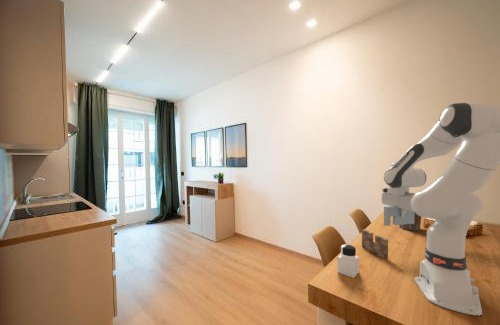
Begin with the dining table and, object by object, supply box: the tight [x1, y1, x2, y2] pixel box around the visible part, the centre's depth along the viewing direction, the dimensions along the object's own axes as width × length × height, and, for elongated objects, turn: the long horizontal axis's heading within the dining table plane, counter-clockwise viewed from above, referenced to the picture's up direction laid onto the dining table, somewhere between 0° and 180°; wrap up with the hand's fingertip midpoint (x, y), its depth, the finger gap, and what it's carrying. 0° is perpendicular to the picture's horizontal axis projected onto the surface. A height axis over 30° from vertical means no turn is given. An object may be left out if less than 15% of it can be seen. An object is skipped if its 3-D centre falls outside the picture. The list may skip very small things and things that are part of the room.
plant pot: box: [398, 212, 422, 232], centre depth 154 cm, size 16×16×16 cm
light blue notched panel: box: [383, 205, 414, 227], centre depth 115 cm, size 18×2×10 cm, turn 101°
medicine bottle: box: [337, 244, 360, 279], centre depth 95 cm, size 7×7×12 cm
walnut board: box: [361, 228, 389, 260], centre depth 115 cm, size 16×2×10 cm, turn 12°
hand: (399, 215), depth 115 cm, fingers closed on light blue notched panel, 2 cm apart
